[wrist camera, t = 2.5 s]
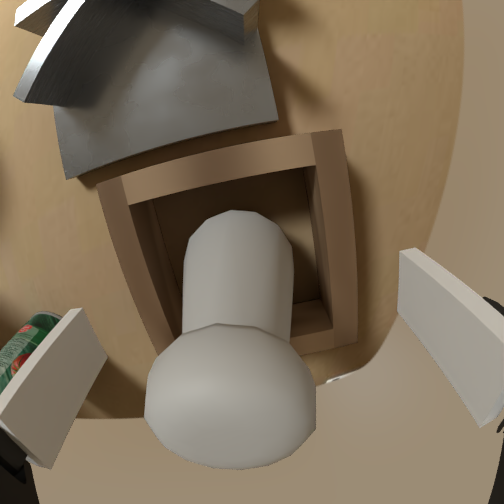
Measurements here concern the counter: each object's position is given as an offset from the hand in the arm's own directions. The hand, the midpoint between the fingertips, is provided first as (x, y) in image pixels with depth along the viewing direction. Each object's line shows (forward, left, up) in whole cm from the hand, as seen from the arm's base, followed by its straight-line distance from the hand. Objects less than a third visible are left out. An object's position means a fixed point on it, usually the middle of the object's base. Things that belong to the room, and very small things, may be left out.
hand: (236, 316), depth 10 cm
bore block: (0, 0, -7) cm, 7 cm away
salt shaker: (0, 0, -8) cm, 8 cm away
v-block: (-3, +13, -7) cm, 15 cm away
